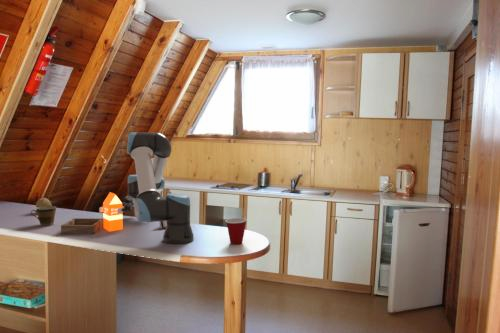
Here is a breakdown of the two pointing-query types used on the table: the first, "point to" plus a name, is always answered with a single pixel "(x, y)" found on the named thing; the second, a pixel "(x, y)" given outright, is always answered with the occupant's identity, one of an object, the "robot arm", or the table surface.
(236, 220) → the plastic cup
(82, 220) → the tray
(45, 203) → the natural sponge
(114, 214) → the orange juice
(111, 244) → the table surface
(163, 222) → the hinge
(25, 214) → the table surface
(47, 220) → the ceramic cup
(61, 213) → the table surface
